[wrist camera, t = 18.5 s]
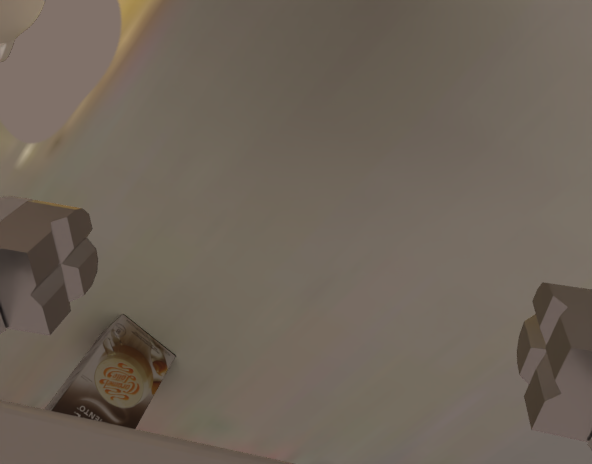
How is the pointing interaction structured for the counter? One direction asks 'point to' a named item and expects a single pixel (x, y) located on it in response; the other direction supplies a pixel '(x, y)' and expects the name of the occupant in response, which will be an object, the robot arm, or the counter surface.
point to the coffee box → (115, 377)
